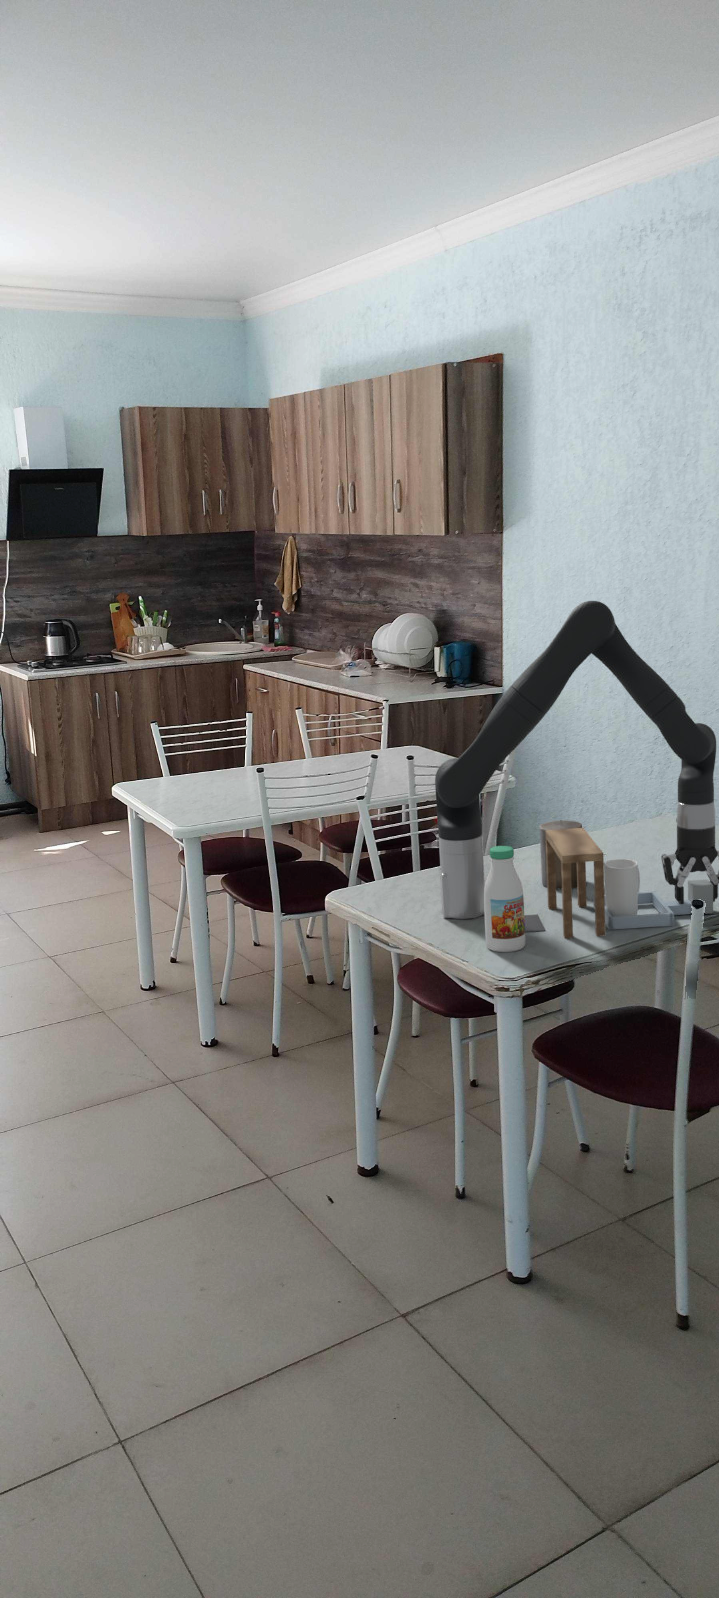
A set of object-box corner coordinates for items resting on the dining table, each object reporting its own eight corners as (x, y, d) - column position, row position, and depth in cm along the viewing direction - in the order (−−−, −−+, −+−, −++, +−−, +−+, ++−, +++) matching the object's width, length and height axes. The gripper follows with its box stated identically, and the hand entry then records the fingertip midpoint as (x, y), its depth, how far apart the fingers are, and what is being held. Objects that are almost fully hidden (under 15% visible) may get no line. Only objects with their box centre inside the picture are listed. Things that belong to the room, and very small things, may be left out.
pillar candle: (593, 883, 264) (591, 819, 261) (559, 892, 260) (557, 827, 256) (565, 875, 273) (563, 812, 269) (532, 883, 268) (529, 819, 265)
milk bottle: (479, 950, 228) (474, 851, 224) (497, 937, 234) (492, 841, 230) (514, 955, 224) (510, 855, 220) (532, 942, 230) (528, 844, 226)
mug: (626, 927, 235) (625, 870, 232) (598, 921, 240) (597, 865, 237) (653, 913, 242) (653, 858, 239) (625, 908, 246) (624, 853, 244)
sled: (609, 929, 233) (608, 901, 232) (593, 906, 248) (593, 879, 247) (721, 921, 233) (721, 893, 232) (699, 898, 248) (699, 871, 247)
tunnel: (564, 938, 231) (562, 855, 227) (548, 906, 251) (545, 830, 247) (605, 935, 231) (603, 853, 227) (585, 904, 251) (583, 827, 247)
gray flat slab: (516, 933, 236) (516, 932, 236) (509, 917, 246) (509, 916, 246) (545, 931, 236) (545, 930, 236) (537, 915, 246) (537, 914, 246)
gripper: (665, 830, 233) (666, 910, 237) (737, 824, 233) (737, 905, 237) (655, 820, 240) (656, 898, 244) (725, 815, 240) (725, 893, 244)
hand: (696, 901), depth 240 cm, fingers closed on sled, 5 cm apart
